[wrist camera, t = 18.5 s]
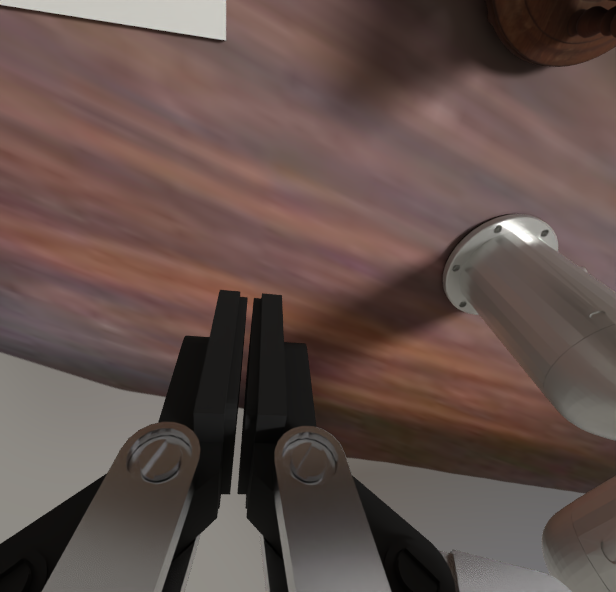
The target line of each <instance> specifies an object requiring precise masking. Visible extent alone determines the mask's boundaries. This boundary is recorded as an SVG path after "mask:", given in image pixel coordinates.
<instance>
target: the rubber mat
mask: <svg viewBox="0 0 616 592" xmlns="http://www.w3.org/2000/svg"><path fill="white" fill-rule="evenodd" d="M0 5H5V6H12V7H18V8H24V9H30V10H37V11H43V12H49V13H56V14H62V15H68V16H75V17H81V18H87V19H93V20H100V21H106V22H112V23H119V24H125V25H131V26H137V27H144V28H150V29H156V30H163V31H169V32H175V33H182V34H188V35H194V36H200V37H207V38H213V39H219V40H226V0H0Z"/></svg>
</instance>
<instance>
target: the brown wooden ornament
mask: <svg viewBox="0 0 616 592" xmlns="http://www.w3.org/2000/svg"><path fill="white" fill-rule="evenodd" d="M486 5H487V9H488V16H487V19H488V21H489V23H490V24H492V25H493V27H494V30H495V32H496V34H497V35H498V37H499V39H500V40H501V41H502V43H503V44H504V45H505V46H506V48H507V49H508V50H509V51H511V52H512V53H513V54H514V55H516V56H517V57H518V58H520V59H522V60H524V61H526V62H529V63H532V64H536V65H541V66H555V67H562V66H570V65H576V64H579V63H583V62H586V61H589V60H591V59H594V58H596V57H598V56H600V55H602V54H604V53H606V52H608V51H609V50H611V49H612V48H614V47H616V0H486Z"/></svg>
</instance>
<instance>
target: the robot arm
mask: <svg viewBox="0 0 616 592" xmlns="http://www.w3.org/2000/svg"><path fill="white" fill-rule="evenodd" d="M443 288H444V292H445V294H446V296H447V298H448V299H449V300H450V301H451V303H452V304H453V305H454V306H455V307H456V308H457V309H459V310H461V311H463V312H465V313H469V314H474V315H480V316H481V318H482V319H483V320H484V321H485V323H486V324H487V325H488V326H489V327H490V329H491V330H492V331H493V332H494V334H495V335H496V336H497V337H498V339H499V340H500V341H501V342H502V343H503V345H504V346H505V347H506V348H507V350H508V351H509V352H510V353H511V355H512V356H513V357H514V358H515V359H516V361H517V362H518V363H519V364H520V366H521V367H522V368H523V369H524V371H525V372H526V373H527V374H528V375H529V377H530V378H531V379H532V380H533V382H534V383H535V384H536V385H537V387H538V388H539V389H540V390H541V391H542V393H543V394H544V395H545V396H546V398H547V399H548V400H549V401H550V402H551V403H552V405H553V406H554V407H555V408H556V409H557V411H558V412H559V413H560V414H561V415H562V416H564V417H565V418H566V419H567V420H568V421H570V422H571V423H573V424H574V425H576V426H577V427H579V428H581V429H583V430H585V431H587V432H589V433H592V434H595V435H598V436H601V437H604V438H608V439H612V440H615V441H616V292H614V291H613V290H611V289H610V288H609V287H607V286H606V285H604V284H603V283H602V282H600V281H599V280H597V279H596V278H594V277H593V276H592V275H590V274H589V273H587V270H586V269H585V267H580V266H577V265H576V264H574V263H573V262H572V261H570V260H569V259H567V258H566V257H565V256H563V255H562V254H560V253H559V252H558V241H557V237H556V234H555V233H554V231H553V229H552V228H551V227H550V226H549V225H548V224H547V223H545V222H544V221H542V220H540V219H539V218H537V217H534V216H531V215H526V214H511V215H505V216H501V217H498V218H495V219H492V220H490V221H488V222H486V223H484V224H482V225H481V226H479V227H477V228H476V229H474V230H473V231H472V232H470V233H469V234H468V235H467V236H466V237H464V238H463V239H462V241H461V242H460V243H459V244H458V245H457V246H456V247H455V249H454V250H453V252H452V253H451V255H450V256H449V258H448V261H447V263H446V265H445V268H444V272H443ZM247 299H248V298H247V297H240V292H239V291H227V290H220V292H219V296H218V301H217V305H216V310H215V315H214V319H213V324H212V329H211V333H210V337H198V336H185V337H184V340H183V343H182V346H181V349H180V353H179V356H178V359H177V363H176V366H175V369H174V372H173V376H172V379H171V382H170V386H169V389H168V392H167V396H166V399H165V402H164V405H163V409H162V412H161V415H160V419H159V422H158V423H155V424H151V425H149V426H147V427H144V428H142V429H140V430H138V432H136V433H135V434H134V435H132V436H131V437H130V438H129V439H128V440H127V441H126V443H125V444H124V445H123V447H122V448H121V450H120V451H119V453H118V455H117V457H116V459H115V460H114V462H113V464H112V466H111V468H110V470H109V471H108V473H107V474H105V475H104V476H102V477H101V478H99V479H98V480H96V481H95V482H93V483H92V484H90V485H89V486H87V487H86V488H84V489H83V490H81V491H80V492H78V493H77V494H75V495H74V496H72V497H71V498H69V499H68V500H66V501H64V502H63V503H61V504H60V505H58V506H57V507H55V508H54V509H52V510H51V511H49V512H48V513H46V514H45V515H43V516H42V517H40V518H39V519H37V520H36V521H34V522H33V523H31V524H30V525H28V526H27V527H25V528H24V529H22V530H21V531H19V532H18V533H16V534H15V535H13V536H12V537H10V538H9V539H7V540H6V541H4V542H3V543H1V544H0V592H185V588H186V585H187V581H188V578H189V574H190V570H191V567H192V564H193V560H194V557H195V553H196V550H197V546H198V543H199V539H200V533H201V532H203V531H204V530H205V528H207V527H208V526H209V525H210V524H211V523H212V522H213V521H214V520H215V519H216V518H217V513H218V509H219V507H220V498H221V494H230V488H231V478H232V477H231V476H232V467H233V457H234V445H235V434H236V424H237V414H238V403H239V392H240V381H241V370H242V358H243V346H244V335H245V323H246V311H247ZM242 430H243V431H242V443H241V455H240V456H241V457H240V468H239V481H238V494H246V509H247V519H248V520H249V521H250V522H251V523H252V524H253V525H254V526H255V527H256V528H257V530H258V531H259V532H260V544H261V553H262V562H263V571H264V580H265V589H266V592H616V476H615V477H613V478H611V479H610V480H608V481H606V482H604V483H603V484H601V485H599V486H598V487H596V488H594V489H593V490H591V491H589V492H588V493H586V494H584V495H583V496H581V497H579V498H578V499H576V500H575V501H573V502H572V503H570V504H569V505H567V506H565V507H564V508H563V509H561V510H560V511H559V512H557V513H556V514H555V515H553V516H552V517H551V519H550V520H549V521H548V523H547V524H546V526H545V529H544V530H543V535H542V551H543V556H544V560H545V563H546V566H547V568H548V571H549V573H550V575H548V574H546V573H544V572H540V571H536V570H532V569H528V568H524V567H520V566H517V565H513V564H508V563H504V562H501V561H497V560H493V559H489V558H484V557H481V556H477V555H473V554H469V553H465V552H461V551H456V550H452V551H451V552H450V553H447V552H443V551H439V550H437V548H435V546H434V545H433V544H432V543H431V542H430V541H429V540H427V539H426V538H425V537H424V536H423V535H421V534H420V533H419V532H418V531H417V530H416V529H414V528H413V527H412V526H411V525H410V524H408V523H407V522H406V521H405V520H404V519H403V518H401V517H400V516H399V515H398V514H397V513H396V512H394V511H393V510H392V509H391V508H390V507H389V506H387V505H386V504H385V503H384V502H383V501H381V500H380V499H379V498H378V497H377V496H376V495H375V494H373V493H372V492H371V491H370V490H369V489H367V488H366V487H365V486H364V485H363V484H362V483H361V482H359V481H358V480H357V479H356V478H355V477H353V476H352V474H351V471H350V468H349V465H348V462H347V459H346V456H345V453H344V451H343V449H342V447H341V445H340V443H339V442H338V441H337V440H336V439H335V438H334V437H333V435H331V434H330V433H328V432H326V431H325V430H323V429H320V428H317V427H316V420H315V411H314V403H313V395H312V386H311V378H310V369H309V361H308V353H307V346H306V344H304V343H289V342H284V334H283V311H282V295H273V294H262V298H261V299H259V298H254V302H253V313H252V323H251V334H250V344H249V355H248V365H247V376H246V389H245V402H244V416H243V429H242Z"/></svg>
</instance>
